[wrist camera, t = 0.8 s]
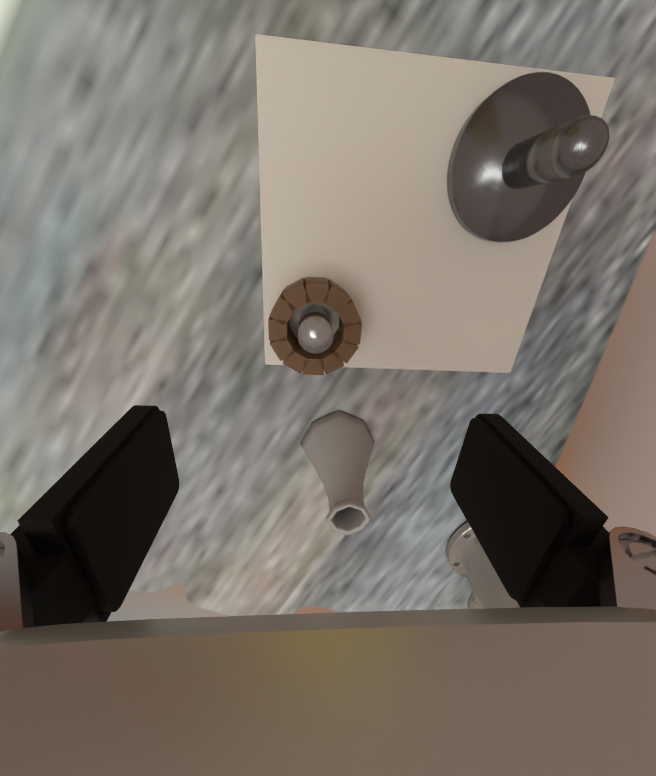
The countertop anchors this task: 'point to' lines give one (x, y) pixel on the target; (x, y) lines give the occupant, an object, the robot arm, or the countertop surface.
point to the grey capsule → (315, 329)
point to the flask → (341, 467)
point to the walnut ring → (288, 343)
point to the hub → (522, 157)
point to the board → (390, 202)
